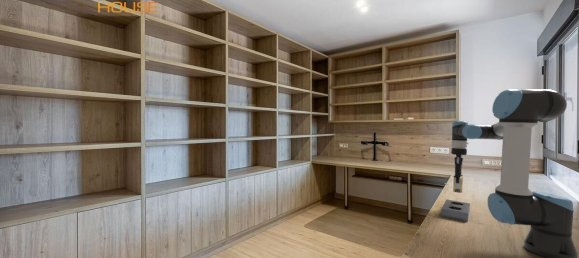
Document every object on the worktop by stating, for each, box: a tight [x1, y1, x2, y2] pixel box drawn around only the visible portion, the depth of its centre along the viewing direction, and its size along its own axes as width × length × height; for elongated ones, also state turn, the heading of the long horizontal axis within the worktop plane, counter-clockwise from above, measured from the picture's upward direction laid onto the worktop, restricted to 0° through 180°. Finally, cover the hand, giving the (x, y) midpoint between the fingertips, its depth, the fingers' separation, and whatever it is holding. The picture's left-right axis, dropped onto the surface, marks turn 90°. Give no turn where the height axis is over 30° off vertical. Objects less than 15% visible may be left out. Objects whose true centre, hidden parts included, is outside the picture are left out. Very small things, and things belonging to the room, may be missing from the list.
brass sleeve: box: [452, 176, 463, 194], centre depth 151 cm, size 4×4×9 cm
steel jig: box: [440, 199, 471, 223], centre depth 147 cm, size 22×12×4 cm, turn 143°
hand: (457, 187), depth 151 cm, fingers closed on brass sleeve, 4 cm apart
